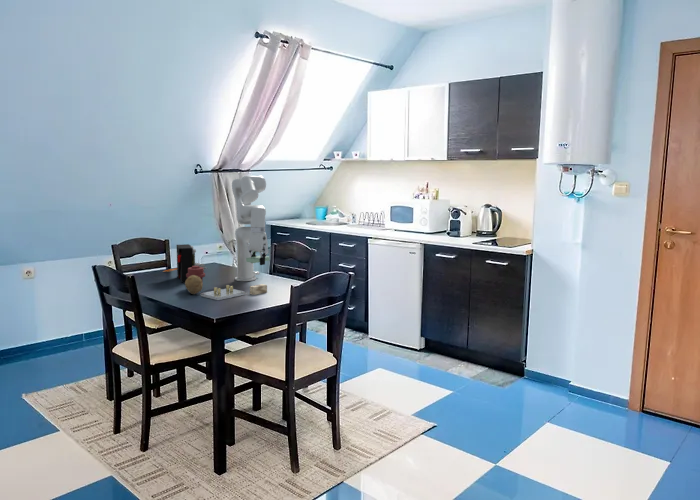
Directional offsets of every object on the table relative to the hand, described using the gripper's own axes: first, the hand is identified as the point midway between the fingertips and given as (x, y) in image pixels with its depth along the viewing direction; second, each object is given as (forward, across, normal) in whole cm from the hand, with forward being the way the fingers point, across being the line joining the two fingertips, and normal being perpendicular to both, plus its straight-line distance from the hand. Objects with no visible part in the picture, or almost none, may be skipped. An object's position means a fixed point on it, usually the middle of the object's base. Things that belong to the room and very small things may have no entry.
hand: (258, 263), depth 289 cm
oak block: (+16, -1, 0) cm, 16 cm away
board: (-1, 0, 0) cm, 1 cm away
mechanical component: (+17, +33, +16) cm, 40 cm away
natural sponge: (+16, +22, +24) cm, 37 cm away
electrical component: (+17, +58, +4) cm, 61 cm away
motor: (+18, +82, -10) cm, 84 cm away
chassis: (+16, +8, +16) cm, 24 cm away
